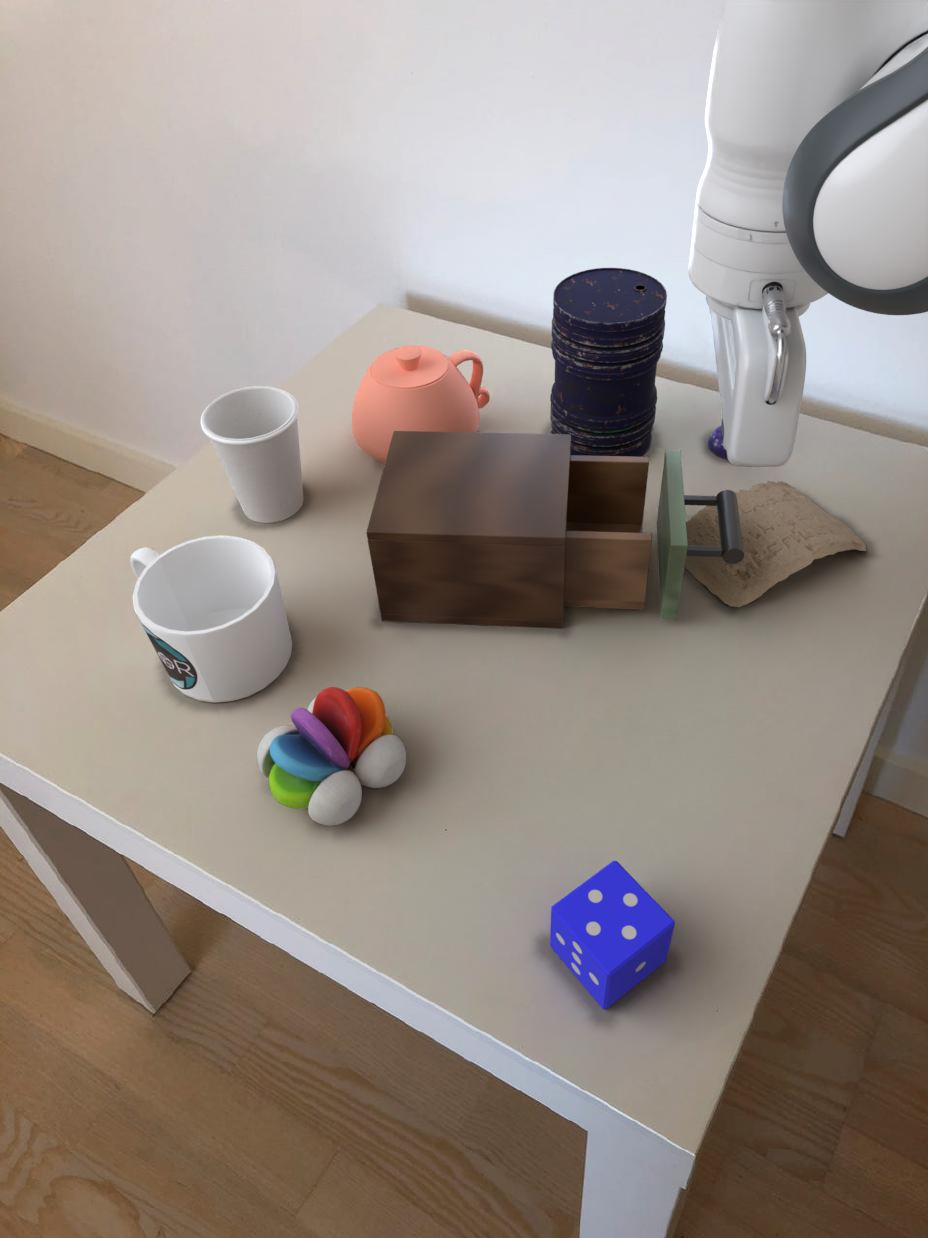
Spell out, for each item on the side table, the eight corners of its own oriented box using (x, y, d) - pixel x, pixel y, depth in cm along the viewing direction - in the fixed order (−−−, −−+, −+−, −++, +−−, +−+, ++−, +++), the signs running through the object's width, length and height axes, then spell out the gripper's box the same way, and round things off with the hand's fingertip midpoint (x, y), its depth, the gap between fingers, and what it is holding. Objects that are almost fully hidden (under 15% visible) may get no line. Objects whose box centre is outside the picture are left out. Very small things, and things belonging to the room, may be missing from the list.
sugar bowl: (338, 429, 95) (321, 337, 88) (464, 390, 99) (458, 299, 91) (383, 497, 87) (369, 403, 80) (518, 452, 91) (516, 358, 83)
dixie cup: (210, 506, 88) (180, 415, 81) (280, 463, 92) (258, 373, 84) (265, 545, 84) (239, 453, 76) (336, 499, 87) (318, 407, 80)
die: (604, 1012, 54) (609, 976, 51) (548, 945, 57) (549, 907, 53) (667, 960, 56) (676, 922, 52) (610, 898, 59) (615, 858, 55)
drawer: (725, 525, 81) (739, 450, 75) (736, 622, 73) (753, 547, 67) (513, 519, 83) (512, 446, 77) (503, 613, 75) (500, 539, 69)
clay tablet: (789, 486, 85) (795, 462, 83) (874, 550, 79) (883, 526, 77) (659, 545, 81) (662, 521, 79) (738, 618, 74) (744, 594, 72)
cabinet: (568, 523, 83) (571, 433, 76) (562, 628, 75) (565, 538, 68) (405, 519, 85) (393, 430, 78) (381, 621, 76) (365, 531, 69)
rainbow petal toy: (427, 765, 67) (418, 701, 61) (319, 854, 62) (299, 794, 57) (351, 700, 71) (336, 635, 66) (245, 779, 67) (220, 717, 61)
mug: (324, 638, 75) (306, 565, 70) (232, 729, 70) (204, 657, 64) (204, 578, 81) (178, 505, 75) (110, 657, 75) (74, 585, 70)
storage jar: (573, 480, 87) (578, 333, 77) (534, 422, 94) (534, 280, 83) (670, 454, 89) (689, 308, 78) (626, 400, 96) (638, 258, 85)
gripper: (849, 338, 49) (799, 538, 59) (799, 178, 63) (765, 361, 73) (724, 338, 50) (695, 535, 60) (702, 180, 64) (682, 361, 74)
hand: (734, 438), depth 67 cm, fingers closed
